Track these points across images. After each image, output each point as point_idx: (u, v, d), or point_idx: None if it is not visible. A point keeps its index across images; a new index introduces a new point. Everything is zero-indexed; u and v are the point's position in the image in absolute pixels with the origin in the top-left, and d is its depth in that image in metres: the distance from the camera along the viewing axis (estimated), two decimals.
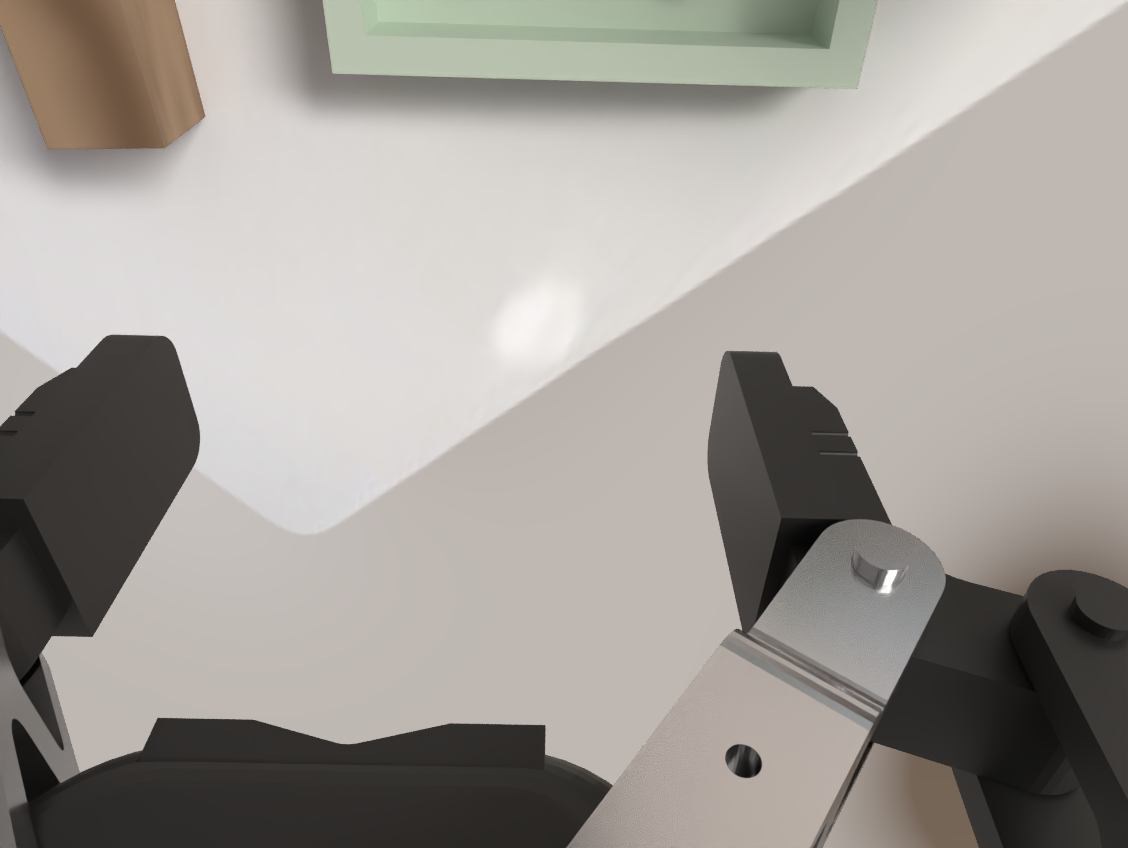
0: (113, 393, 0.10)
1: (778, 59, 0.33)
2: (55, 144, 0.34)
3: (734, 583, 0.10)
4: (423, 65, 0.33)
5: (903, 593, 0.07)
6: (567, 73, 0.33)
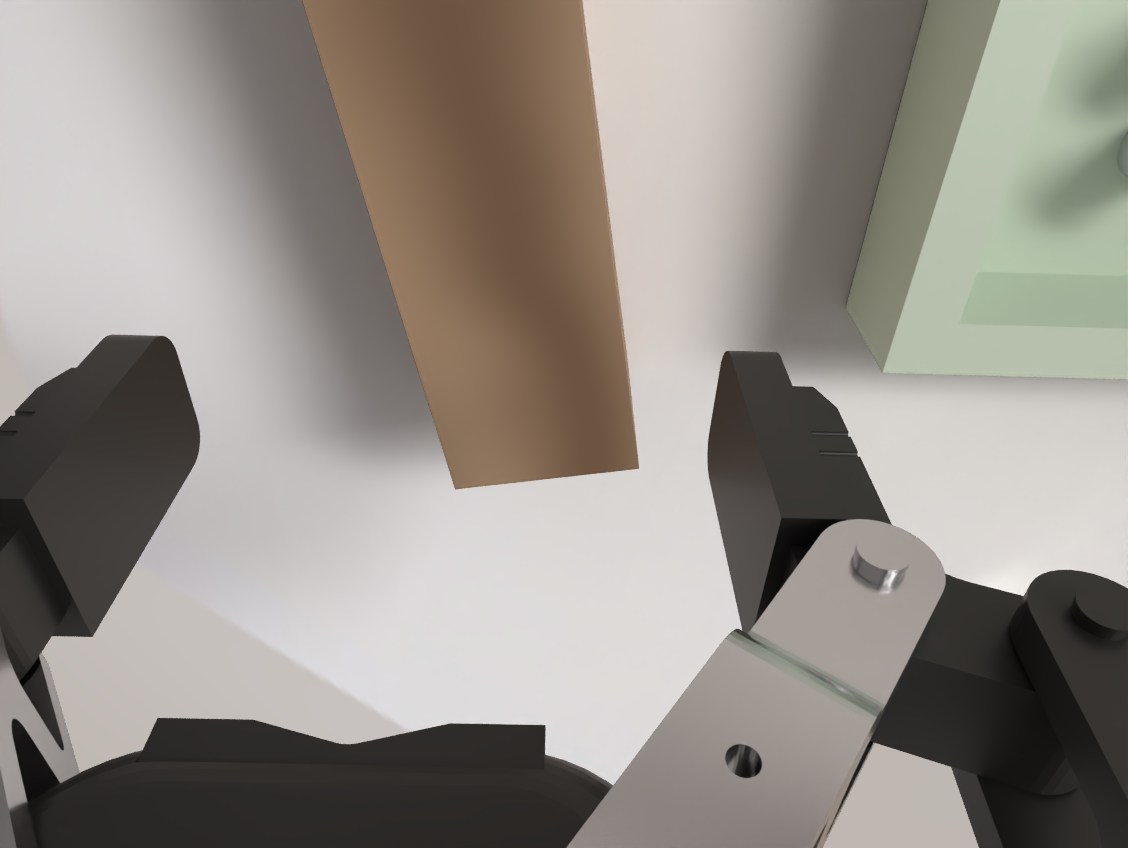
0: (113, 393, 0.10)
1: None
2: (468, 482, 0.22)
3: (734, 583, 0.10)
4: (1035, 363, 0.21)
5: (903, 593, 0.07)
6: None
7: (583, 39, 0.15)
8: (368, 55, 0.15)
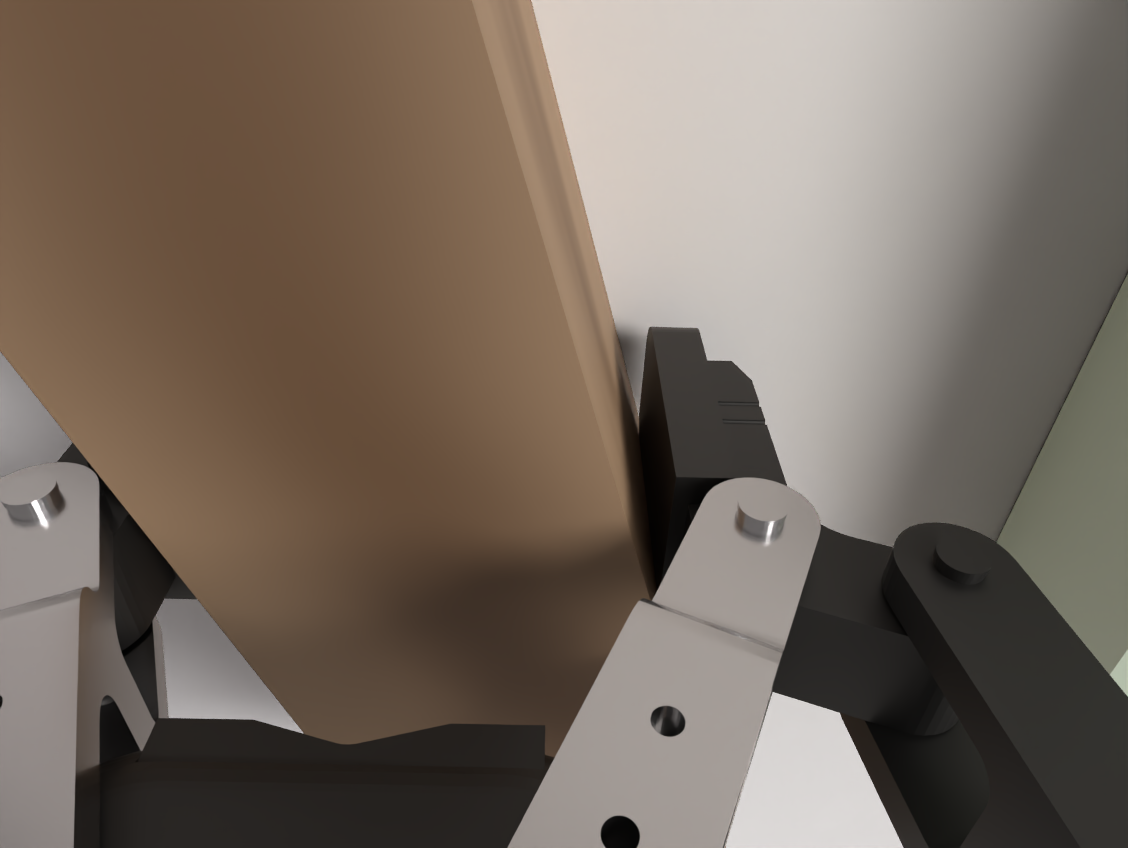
0: None
1: None
2: None
3: None
4: None
5: (778, 542, 0.08)
6: None
7: (553, 281, 0.07)
8: (108, 353, 0.07)
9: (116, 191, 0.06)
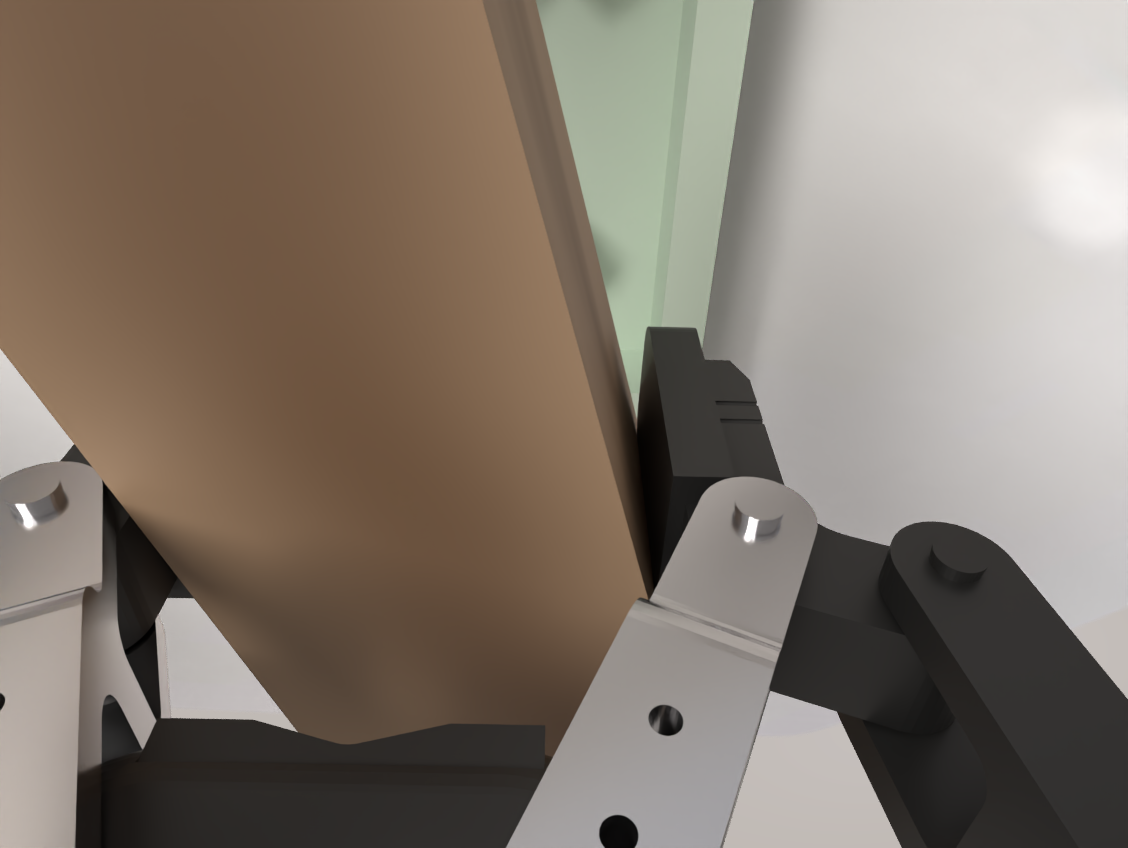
0: None
1: None
2: None
3: None
4: None
5: (775, 542, 0.08)
6: (720, 166, 0.24)
7: (558, 283, 0.07)
8: (107, 351, 0.07)
9: (120, 187, 0.06)
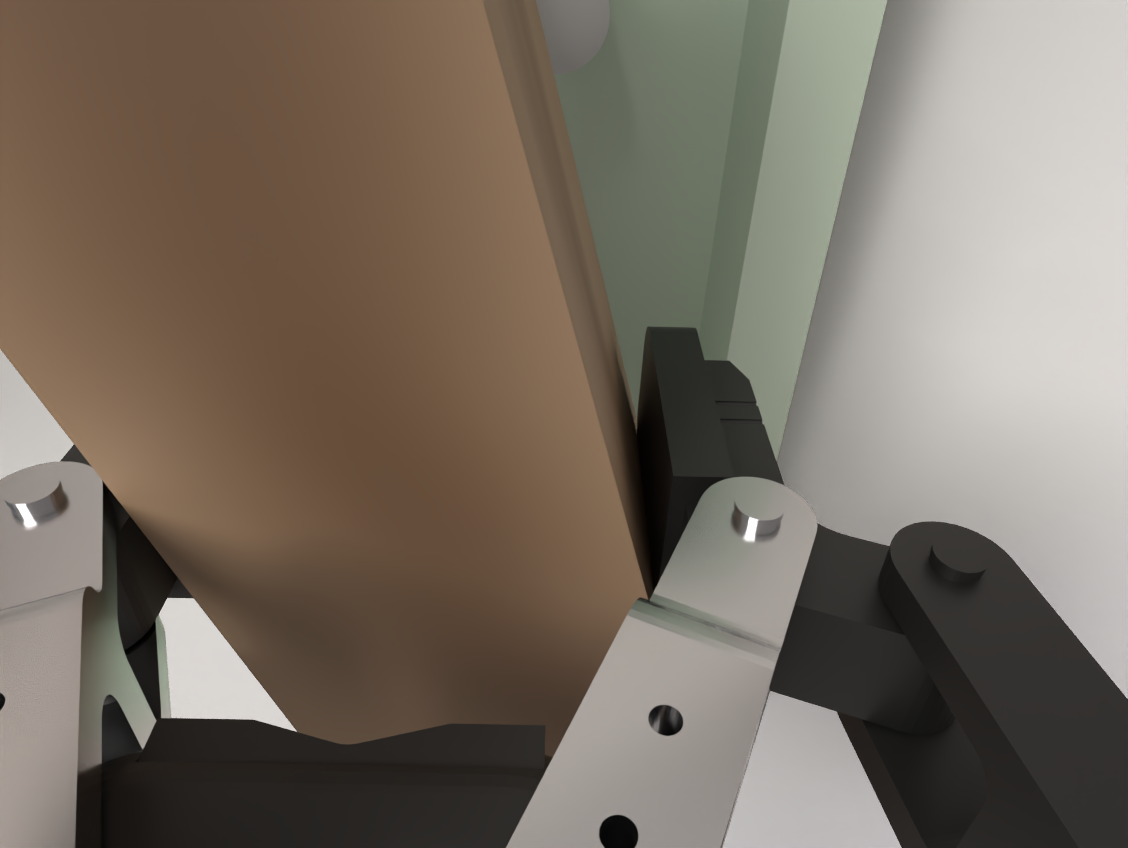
0: None
1: None
2: None
3: (649, 546, 0.11)
4: None
5: (775, 542, 0.08)
6: (790, 346, 0.16)
7: (559, 283, 0.07)
8: (107, 349, 0.07)
9: (120, 186, 0.06)
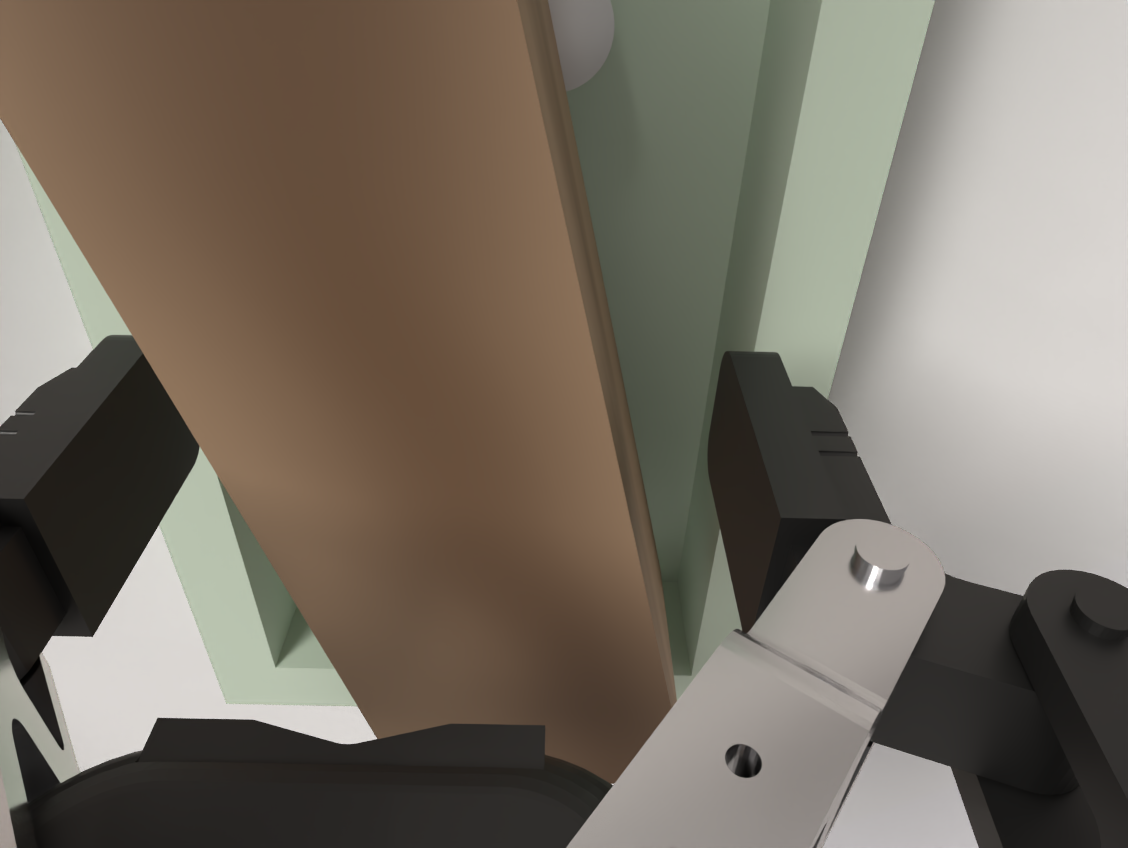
0: (113, 393, 0.10)
1: None
2: None
3: (734, 583, 0.10)
4: None
5: (903, 593, 0.07)
6: None
7: (562, 216, 0.08)
8: (177, 263, 0.08)
9: (202, 118, 0.08)
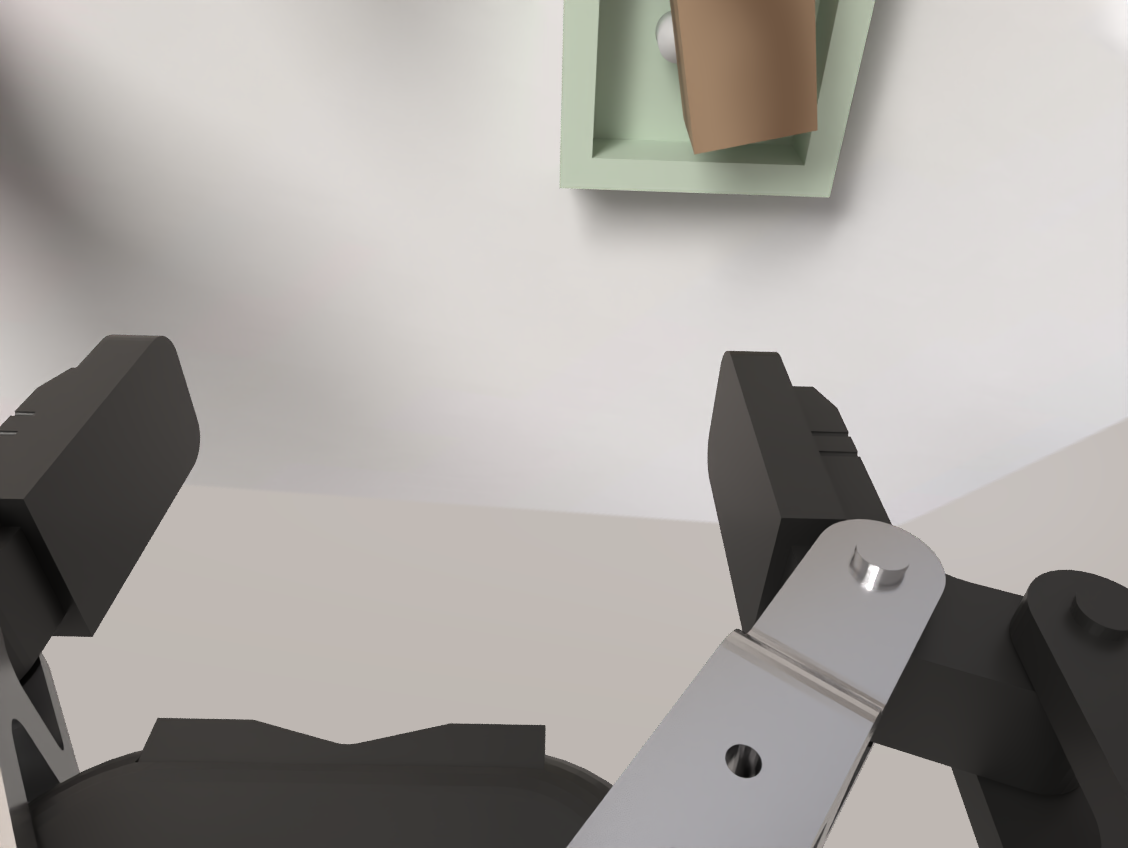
0: (113, 393, 0.10)
1: None
2: (703, 148, 0.33)
3: (734, 583, 0.10)
4: (839, 115, 0.36)
5: (903, 593, 0.07)
6: None
7: None
8: None
9: None
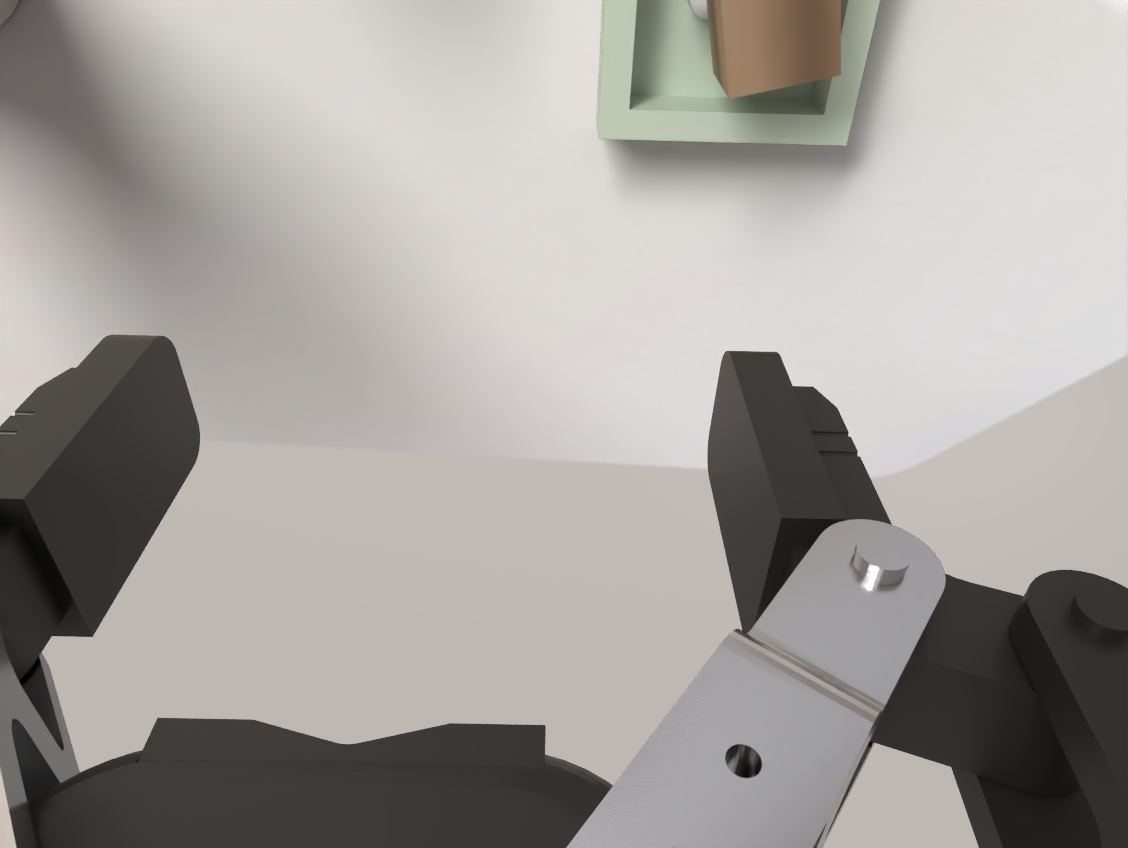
0: (113, 393, 0.10)
1: None
2: (737, 93, 0.36)
3: (734, 583, 0.10)
4: (856, 67, 0.40)
5: (903, 593, 0.07)
6: None
7: None
8: None
9: None
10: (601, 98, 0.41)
